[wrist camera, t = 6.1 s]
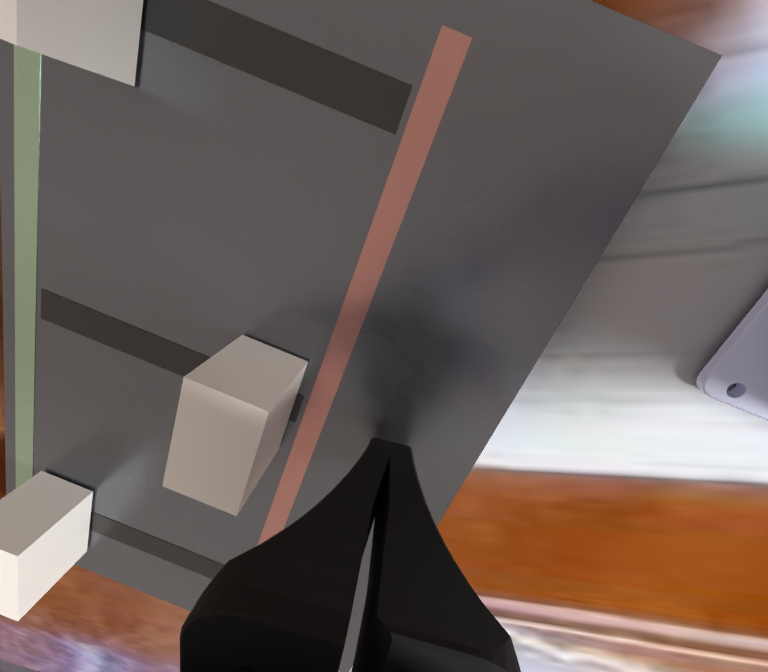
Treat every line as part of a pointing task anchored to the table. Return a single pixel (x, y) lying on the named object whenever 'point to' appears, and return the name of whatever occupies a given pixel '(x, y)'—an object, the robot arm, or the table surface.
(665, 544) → the table surface
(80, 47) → the breaker
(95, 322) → the panel
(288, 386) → the breaker mid
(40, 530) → the block
